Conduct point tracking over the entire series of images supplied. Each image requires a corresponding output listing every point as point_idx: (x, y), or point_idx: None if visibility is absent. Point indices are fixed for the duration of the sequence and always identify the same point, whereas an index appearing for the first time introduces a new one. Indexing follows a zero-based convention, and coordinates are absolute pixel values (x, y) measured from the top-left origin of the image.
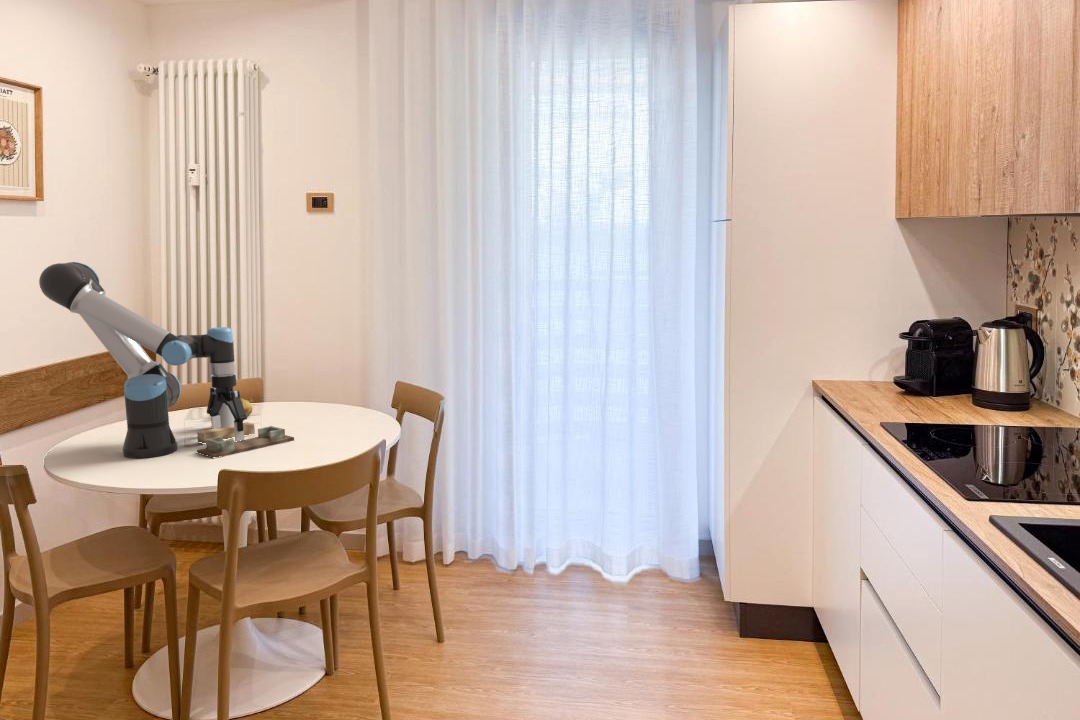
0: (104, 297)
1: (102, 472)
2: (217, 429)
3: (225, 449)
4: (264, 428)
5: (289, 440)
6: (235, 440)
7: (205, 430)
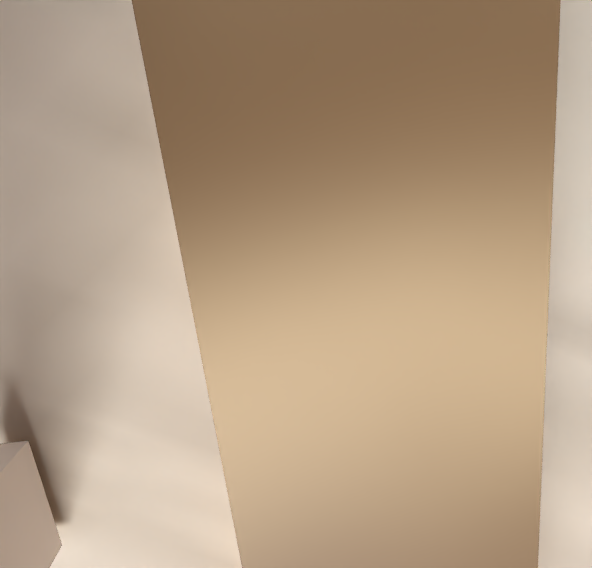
0: None
1: None
2: (386, 405)
3: None
4: None
5: None
6: (11, 452)
7: (548, 112)
